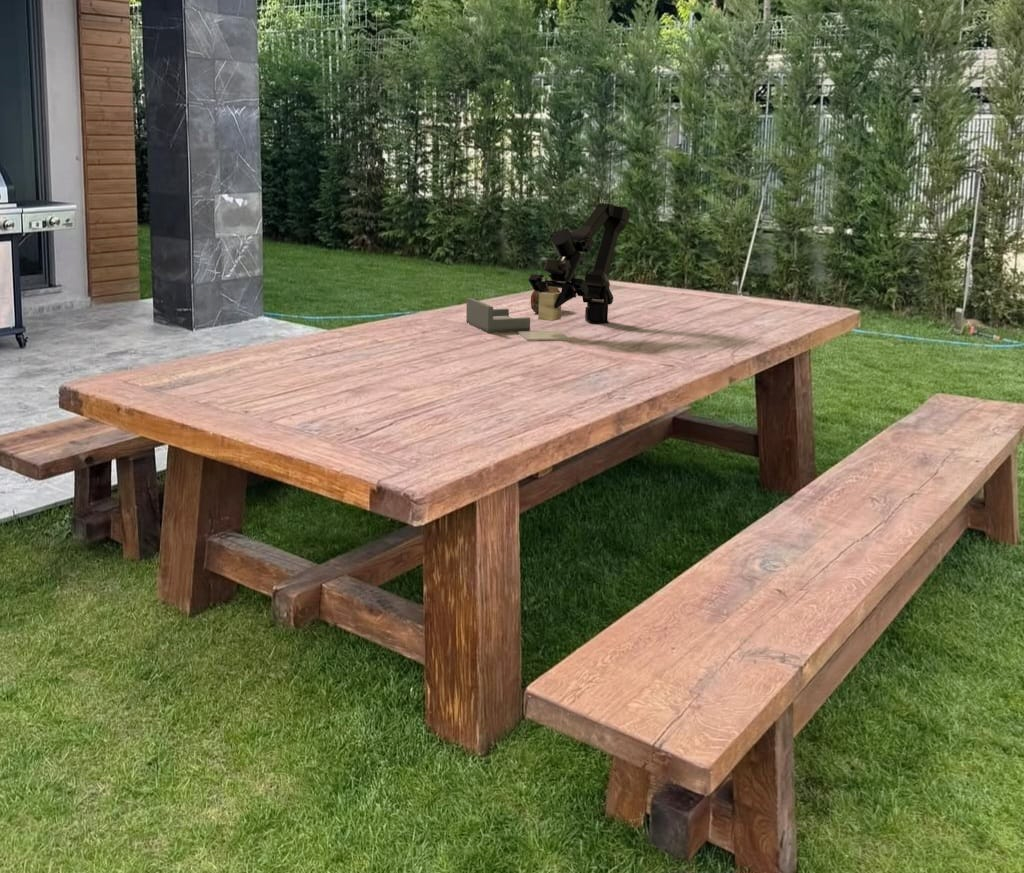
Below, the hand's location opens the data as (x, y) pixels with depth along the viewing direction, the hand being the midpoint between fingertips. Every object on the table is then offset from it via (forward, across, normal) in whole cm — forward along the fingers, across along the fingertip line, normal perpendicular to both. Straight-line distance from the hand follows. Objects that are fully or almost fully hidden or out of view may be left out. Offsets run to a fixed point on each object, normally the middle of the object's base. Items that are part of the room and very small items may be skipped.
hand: (547, 306), depth 334 cm
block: (+2, 0, +4) cm, 4 cm away
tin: (-21, -24, +34) cm, 47 cm away
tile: (+8, 0, +5) cm, 9 cm away
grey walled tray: (+4, -20, +9) cm, 22 cm away
